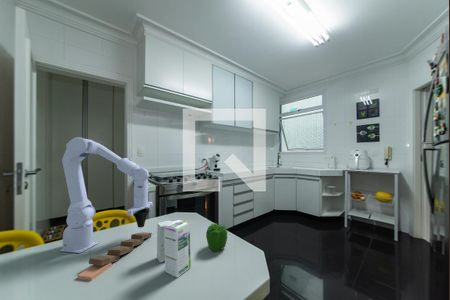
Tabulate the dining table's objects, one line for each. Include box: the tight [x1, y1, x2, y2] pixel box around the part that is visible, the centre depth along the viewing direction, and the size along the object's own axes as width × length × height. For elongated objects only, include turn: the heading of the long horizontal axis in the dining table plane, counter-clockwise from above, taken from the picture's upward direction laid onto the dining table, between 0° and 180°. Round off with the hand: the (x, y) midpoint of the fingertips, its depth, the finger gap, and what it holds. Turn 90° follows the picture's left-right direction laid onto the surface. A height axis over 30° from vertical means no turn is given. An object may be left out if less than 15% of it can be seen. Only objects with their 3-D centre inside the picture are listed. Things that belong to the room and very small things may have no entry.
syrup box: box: [164, 219, 192, 278], centre depth 56 cm, size 6×6×14 cm
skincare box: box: [156, 219, 176, 263], centre depth 63 cm, size 6×4×12 cm
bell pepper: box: [205, 222, 228, 252], centre depth 69 cm, size 8×8×10 cm
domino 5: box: [130, 231, 152, 240], centre depth 77 cm, size 2×5×7 cm
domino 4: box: [119, 238, 145, 248], centre depth 71 cm, size 2×5×7 cm
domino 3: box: [106, 245, 135, 256], centre depth 65 cm, size 2×5×7 cm
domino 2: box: [77, 262, 113, 282], centre depth 55 cm, size 2×5×7 cm
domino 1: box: [88, 253, 121, 266], centre depth 59 cm, size 2×5×7 cm
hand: (141, 226), depth 77 cm, fingers closed
